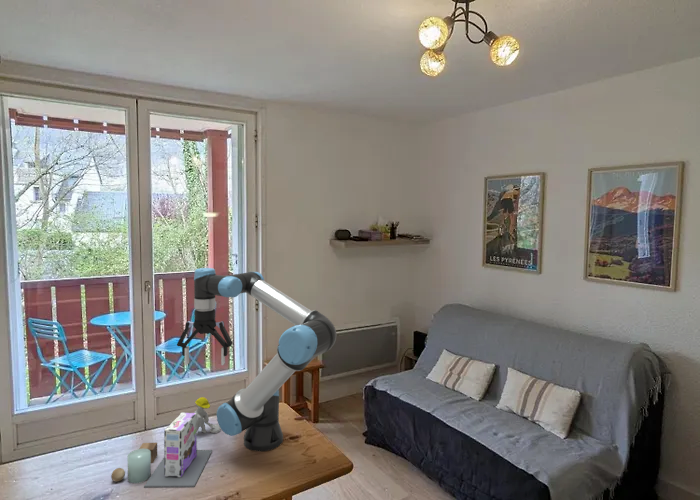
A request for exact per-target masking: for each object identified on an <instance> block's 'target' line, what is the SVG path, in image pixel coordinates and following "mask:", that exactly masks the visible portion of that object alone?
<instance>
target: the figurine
mask: <svg viewBox="0 0 700 500" xmlns="http://www.w3.org/2000/svg"><path fill="white" fill-rule="evenodd" d="M194 403H195V405H196V407H197V408H196V409H195V410H194V412H193V413H196V435H197V436H199V434H198V431H199V429H200V428H201V432H202V433H203V434H206V433H208V431H207V429H206V425H207V426H208V427H210V429H209V432H210V433H211V434H218V433H220V431H222V429H221V428H220V426H219V424H218V423H217V424H216V423H215V424H213V423H210V422H209V421H210V419H209V414H208V412H207V411H206V410H205V409H209V408H210V407H211V405H210V403H209V400H208V399H207V398H206V397H204V396H202V397H198V399H196V400H195V402H194Z"/></svg>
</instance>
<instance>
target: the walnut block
mask: <svg viewBox="0 0 700 500" xmlns="http://www.w3.org/2000/svg"><path fill="white" fill-rule="evenodd" d="M138 449H149V450H150V451H151V464H154V462H155V460H156V459H157V457H158V442H143V443H142V444H141V445H140V446H139V448H138Z"/></svg>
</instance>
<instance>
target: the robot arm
mask: <svg viewBox="0 0 700 500" xmlns="http://www.w3.org/2000/svg"><path fill="white" fill-rule="evenodd" d="M193 276H194V277H193V287H194V288H193V289H194V291H193V293H194V297H193V298H194V301H193V304H194V315H193V316H194V317H193V319H194V321H191V320H188V321H186V322H185V326H184V329H183V332H182V334H181V335H180V337H179V339H178V341H177V344H176V346H177V347H179V348H180V347H181V355H182V357H184V366H188V365H189V364H190V346H189V344H190V342H191V341H192V340H193V339H194V338H195V337H196V335H197V334H200V335H203V334H205V335H209V334H211V336H213V338H214V339H215V340H216V341H217V342H218V343H219V345H220V346H222V347H221V349H220V350H221V352H220V353H221V355H220V356H221V357H220V360H221V361H220V363H221V364H220V365H221V366H224V365H225V364H226V357H227V356H228V353H229V352H228V349H229V348H230V347H232V345H233V344H234V343H233V341H232V339H231V337H230V334H229V333H228V331H227V329H226V327H225V322H224V321H223V320H221V321H216V309H215V308H216V296H218V297H224V298H226V299H227V298H237V297H238V296H239V295H241V294H245V293H246V294H248V295H249V296H251V297H253V298H254V299H255V300H257V301H258V302H260V303H261V304H263V305H265V306H266V307H268V309H270V310H272V311H274V313H276V314H278V315H279V316H281V317H283V319H284V320H287V322H289V323H291V324H293V326H291V327H289V328H287V329H286V330H285V331H284V332H282V334H281V336H280V337H279V339H278V346H277V348H276V354H275V355H274V356H273V357H272V358H271V360H270V361H269V362H268V363H267V364H266V365H265V366H264V367H263V369H262V370H261V371H260V372H259V373H258V374H257V375H256V376H255V377H254V378H253V380H252V381H251V382H250V383H249V385H247V387H246V388H245V387H244V388H241V389H239V390H238V391H236V392H235V394H234V395H233V396H232V397H231V398H230V399H229V400H228V401H226V402H223V403H221V404H220V405H219V406H218V407H217V410H216V420H217V421H216V422H217V425H219V426H220V428H221V431H222V432H224V434H225V435H228V436H229V437H230V436H231V437H234V436H237V435H240V434H241V433H242V432H244V431H245V433H244V437H243V445H244V447H245V448H246V449H247V450H250V451H252V452H268V450H269V451H271V449H272V450H275V449H277V448H279V447H280V446H281V445H282V444H283V443H284V434H283V431H282V427H281V425H280V422H279V418H280V416H279V412H280V409H279V407H280V390H279V389H280V388H281V387H282V386H283V385H284V384H285V383H286V382H287V381H288V380H289V379H290V378H291V377H292V375H293V374H294V373H295V372H300V371H303V370H304V369H306V367H307V366H309V364H310V363H311V362H312V361H313V360H314V359H315V358H316V357H318V356H320V355H322V354H324V353H327V352H329V350H331V349H332V347H334V345H335V343H336V342H337V341H336V340H337V330H336V327H335V325H334V324H333V322H332V321H331V320H330V319H329V318H328V317H327V316H325V314H324V313H321V312H319V311H318V310H317V309H313V310H311V309H309V308H308V307H306V306H305V305H303V304H301V303H300V302H299V301H297V300H295V299H294V298H292V297H290V296H289V295H287V294H286V293H284V292H283V291H281V290H279V289H278V288H276V287H275V286H273V285H272V284H270V283H268V282H267V281H265V278H264V276H263V275H262V273H261V272H258V271H248V272H242V273H236V274H235V273H234V274H228V275H223V274H222V275H220V274H217V273H216V269H215V268H213V267H200V268H197V269H195V270H194V275H193ZM192 327H194V328H195V330H194V331H193V332H192V333H191V335H190V336H189V337H188V338H187V339H186V337H187V335H188V333H189V331H190V329H191V328H192ZM216 327H217V328H218V329H219V330H220V332H221V334H220V333H219V332H218V330H217V329H216ZM221 335H222V336H223V337H222V336H221ZM185 339H186V341H185ZM184 341H185V342H184ZM281 443H282V444H281ZM280 444H281V445H280ZM279 445H280V446H279ZM278 446H279V447H278ZM276 447H277V448H276ZM274 448H275V449H274Z"/></svg>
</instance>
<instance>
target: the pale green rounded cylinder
mask: <svg viewBox="0 0 700 500" xmlns="http://www.w3.org/2000/svg"><path fill="white" fill-rule="evenodd" d="M126 459H127V481H128V482H129V483H130V484H131V483H132V484H139V483H143V482H145V481H146V482H147V481H148V479H149V478H150V477H151V475H152V467H151V466H152V463H151V451H150V450H149V449H139V448H137V449H134V450H132V451H131V452H129V453H128V454H127V458H126Z"/></svg>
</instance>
